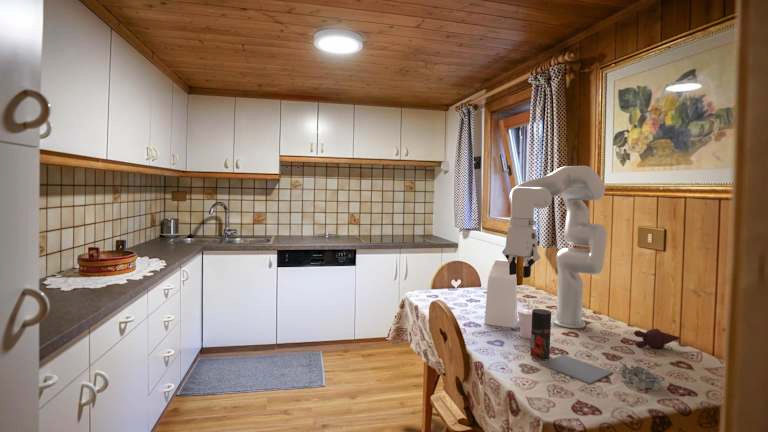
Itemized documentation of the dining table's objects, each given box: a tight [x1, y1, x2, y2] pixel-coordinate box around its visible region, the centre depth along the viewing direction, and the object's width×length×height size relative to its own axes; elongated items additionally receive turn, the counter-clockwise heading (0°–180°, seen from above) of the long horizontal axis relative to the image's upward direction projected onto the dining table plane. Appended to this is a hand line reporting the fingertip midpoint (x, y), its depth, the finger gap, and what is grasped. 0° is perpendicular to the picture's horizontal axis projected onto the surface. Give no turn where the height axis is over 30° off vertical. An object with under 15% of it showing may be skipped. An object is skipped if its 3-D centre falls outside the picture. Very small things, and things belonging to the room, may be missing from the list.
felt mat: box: [539, 354, 614, 385], centre depth 126 cm, size 13×16×1 cm
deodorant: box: [529, 308, 552, 361], centre depth 135 cm, size 6×6×15 cm
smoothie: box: [517, 299, 533, 339], centre depth 154 cm, size 6×6×14 cm
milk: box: [483, 259, 518, 329], centre depth 171 cm, size 12×12×26 cm
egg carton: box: [619, 361, 663, 391], centre depth 118 cm, size 11×8×4 cm
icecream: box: [633, 328, 681, 349], centre depth 146 cm, size 7×7×15 cm
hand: (519, 275), depth 142 cm, fingers open, 4 cm apart
